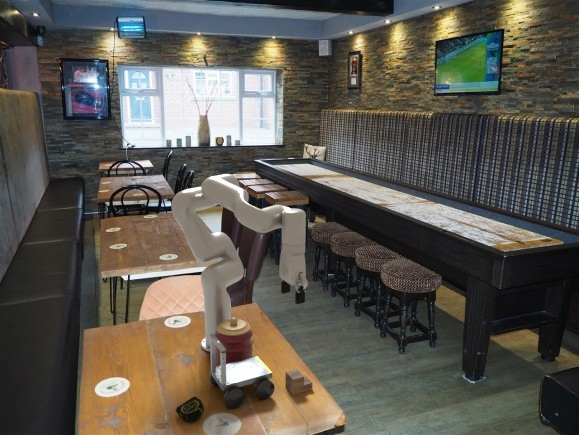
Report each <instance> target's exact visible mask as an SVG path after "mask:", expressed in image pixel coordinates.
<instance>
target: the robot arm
mask: <svg viewBox="0 0 579 435" xmlns="http://www.w3.org/2000/svg"><path fill="white" fill-rule="evenodd" d="M203 180H204V179H203ZM249 198H250V197H249V192H248V191H247V190H246V189H244V188H243V187H240V182H239V180H238V179H237V178H236V177H235V176H234V175H232V174H230V173H223V174H218V175H211V176H209V177H206V179H205V180H204V181H203V182H202V183H201V185H200V186H196V187H191V188H187V189H183V190H181V191H179V192H177V193H176V194H175V195H174V196H173V198H172V200H171V212H172V216H173V218H174V219H175V222H176V223H177V225H178V226H179V228H180V229H181V231H182V233H183V236H184V237H185V240H186V242H187V244H188V246H189V248H190V250H191V252H192V255H193V257H194V259H195V260H196V261H197V262H198V263H200V264H202V263H203V264H206V263H209V262H211V261H214V260H217V262H215V263H213V264H209V265H208V266H206V267H205V268H204V269H203V270H202V272H201V273H200V283H201V287H202V288H201V289H202V291H203V303H204V304H203V305H204V308H203V309H204V335H205V336H204V338H203V339H202V340H201V343H200V344H201V345H200V346H201V348H202V349H203V350H204V351H206V352H209V353H210V337H209V336H210V334H214V335H215V332H216V331H217V326H218V325H219V324H220V323H222V322H223V321H225V320H228V319H231V318H232V317H231V316H232V315H231V314H232V309H231V308H232V306H231V298H230V294H229V292H228V291H227V287H230V286H231V285H234V284H235V283H238V282H239V281H241V280H242V279H243V277H244V273H245V269H244V266H243V262H242V260H241V258H240V256H239V253H238V251H237V250H236V247H235V245H234V242H233V241H232V240H231V238H230V236H228V235H227V233H225V232H222V231H216V232H210V230H209V229H208V227H207V225H206V223H205V221H204V220H203V218H201V217H200V216H198V215H197V214H196V212H199V211H204V210H207V209H210V208H214V207H216V206H221V207H223V208H225V209H227V210H229V211H231V212H233V215H234V217H235V219H237V221H238V222H239V223H240V224H241V225H242V226H244V227H246V228H248V229H250V230H253V231H254V232H257V233H262V234H265V233H269V232H271V231H274V230H277V229H281V252H280V256H279V257H280V258H279V266H278V267H279V269H278V270H279V271H278V272H279V273H278V276H279V279H280V285H281V286H280V293H281V294H282V295H283V294H288V293H290V292H291V286H292V287H293V286H294V287H295V290H296V291H295V292H294V293H295V297H294V300H295V302H294V303H295V305H301V304H305V302H306V297H305V296H306V292H307V289H308V285H309V281H308V280H307V278H306V275H307V274H306V273H307V272H306V271H307V270H306V267H307V266H306V256H305V253H306V233H307V232H306V230H307V229H306V228H307V227H306V226H307V224H306V223H307V220H306V219H307V214H306V211H304V210H303V209H301V208H291V207H288V206H286V205H282V204H274V205H271V206H267V207H263V208H258V207H257V206H254V205H252V204H249ZM215 353H216V348H215Z"/></svg>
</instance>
